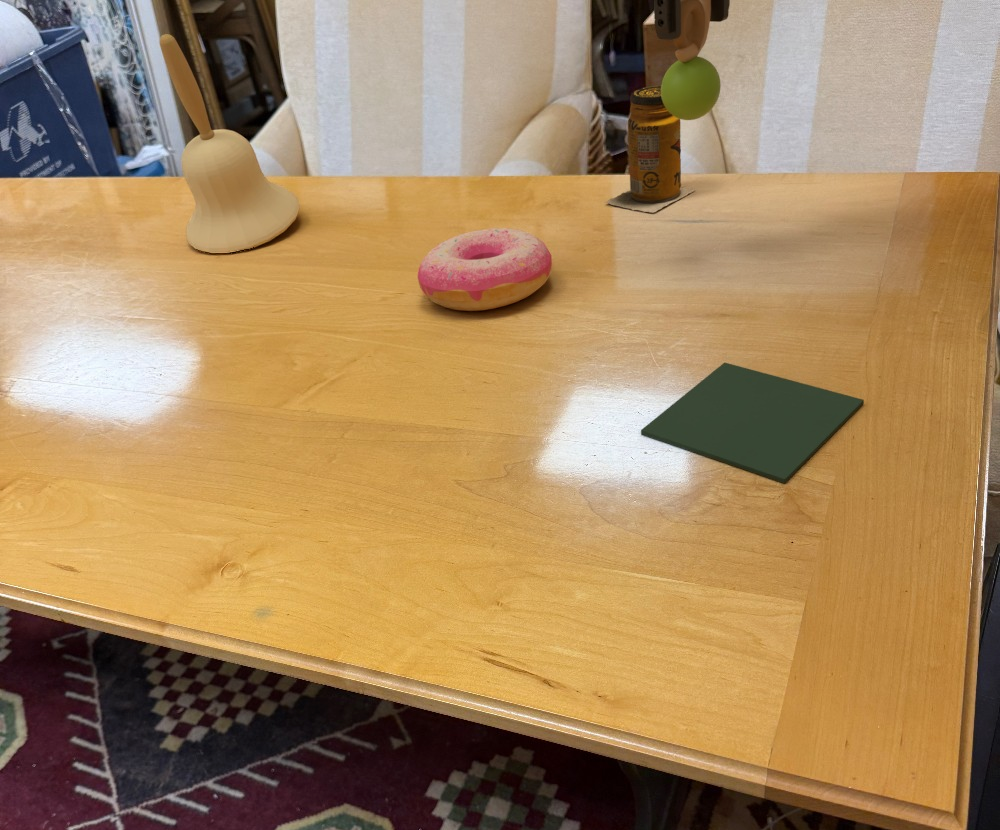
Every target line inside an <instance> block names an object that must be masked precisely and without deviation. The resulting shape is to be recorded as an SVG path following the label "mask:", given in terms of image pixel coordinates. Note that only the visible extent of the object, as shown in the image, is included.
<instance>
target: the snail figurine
mask: <svg viewBox="0 0 1000 830" xmlns="http://www.w3.org/2000/svg"><path fill="white" fill-rule="evenodd" d="M710 16H711V0H681V35H680V37H678V38H676V39H673V40H672V42H673V44H674V46H675V47H676V48H677V50H675V53H674V54H675V57H676V59H677V61H675V62H673V63H672V64H671V65H670V66H669V68H668V69H667V70H666V72H665V74H664V76H663V78H662V79H661V80H662V81H661V85H660V86H661V97H662V101H663V104H664V106H665V107H666V109H667V110H668V111H669V113H671V114H672V115H673V116H675V117H676V118H679V119H680V120H683V121H694V120H697V119H701V118H702V117H704V116H706V115H707V114H708V113H710V111H712V109H713V108H714V107H715V105H716V104H717V102H718V100H719V97H720V93H721V87H722V85H721V78H720V74H719V72H718V70H717V68H716V67H715V65H714V64H713V63H712V62H711V61H709V60H708V59H707V58H704V57H701V56H699V54H700V53H701V51H702V49H703V48H704V46H705V44H706V42H707V39H708V33H709V27H710V22H711V21H710Z"/></svg>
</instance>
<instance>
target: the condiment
mask: <svg viewBox="0 0 1000 830" xmlns="http://www.w3.org/2000/svg"><path fill="white" fill-rule="evenodd" d="M629 100H630V109H629V113H630V115H629V118H628V120H627V137H628V138H627V139H628V159H629V160H628V163H629V164H628V165H629V189H630V190H628V191H625V192H622V193H620V194H619V195H617V196H616V197H613V198H610V199H608V200H607V201H605V202H604V203H606V204H609V205H611V206H616V207H620V208H622V209H623V208H624V209H628V210H629V209H630V210H631V211H634V210H635V211H641V212H644V213H646V212H647V213H651V214H654V213H656V212H657V211H659V210H661V209H663V208H664V207H666V206H669V205H670V204H673V203H674V202H676V201H678V200H681V199H682V198H684V197H686V196H688V195H689V194H692V193H694V192H695V190H696V188H693V187H685V186H683V187H682V170H681V169H682V167H681V164H682V159H681V154H682V153H681V152H682V149H681V143H682V142H681V119H679V118H676V117H675V116H673V115H672V114H671V113H669V111H668V110H667V109H666V107H665V106H664V104H663V101H662V97H661V85H652V86H645V87H641V88H639V89H636V90H633V92H631V94H630V97H629Z"/></svg>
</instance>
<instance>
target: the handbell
mask: <svg viewBox="0 0 1000 830" xmlns="http://www.w3.org/2000/svg"><path fill="white" fill-rule="evenodd" d="M159 47H160V50H161V53H162V56H163V59H164V62H165V65H166V69H167V72H168V73H169V75H170V79H171V81H172V84H173V86H174V88H175V91H176V93H177V96H178V98H179V99H180V102H181V103H182V104H181V105H182V106H183V108H184V109H185V111H186V113H187V114H188V116H189V117H190V119H191V121H192V122H193V124H194V127H196V129H197V131H198V133H199V134H198V135H196V136H195V137H193V138H192V139H191V140H190V141H189V142H188V143H187V144H186V146H185V147H184V149H183V151H182V154H181V158H180V164H181V171H182V174H183V178H184V181H185V182H186V185H187V187H188V188H189V190H190V193H191V194H192V196H193V198H194V202H195V205H194V209H193V211H192V214H191V216H190V219H189V220H188V222H187V225H186V227H185V228H186V229H185V235H186V242H187V243H188V244H189V245H190V246H192V247H193V248H194V249H195V250H196V249H198V250H204V251H208V252H230V251H237V250H244V249H249V250H251V249H250V248H252V249H254V248H257V247H259V246H261V245H263V244H266V243H268V242H270V241H272V240H273V239H275V238H276V237H278V236H279V235H281V234H282V233H284V232H285V231H287V229H288V228H289V227H290V226H291V225H292V224H293V223H294V222H295V221H296V220H297V217H298V214H299V212H300V208H301V205H300V204H301V203H300V201H299V197H298V196H297V194H295V193H294V192H292V191H291V190H290V189H288V188H286V187H285V186H283V185H280V184H278V183H275V182H274V181H270V180H269V179H268V178H267V177H266V176H265V174H264V172H263V171H262V168H261V166H260V163H259V160H258V158H257V157H258V156H257V155H256V152H255V149H254V147H253V146H252V144H251V143H250V141H249V140H248V139H247V138H245V137H244V136H243V135H241V134H240V133H238V132H236V131H234V130H230V129H226V128H225V129H224V128H221V129H220V128H219V129H212V128H211V124H210V121H209V116H208V113H207V109H206V106H205V102H204V99H203V96H202V95H203V94H202V93H201V90H200V87H199V85H198V82H197V80H196V78H195V76H194V73H193V71H192V68H191V67H190V65H189V63H188V60H187V59H186V57H185V55H184V53H183V51H182V49H181V48H180V46H179V44H178V42H177V40H176V38H175V37H174V36H173V35H171V34H168V33H165V34H162V35H161V36H160V38H159ZM253 247H254V248H253ZM198 250H197V251H198ZM244 251H245V250H244Z"/></svg>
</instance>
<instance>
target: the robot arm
mask: <svg viewBox="0 0 1000 830" xmlns="http://www.w3.org/2000/svg"><path fill="white" fill-rule="evenodd" d="M730 5H731V1H730V0H711V16H710V22H711V23H712V22H713V23H714V22H716V23H720V22H724V21H726V20H727V19H728V18H729V13H730V12H729V10H730ZM653 14H654V15H653V18H654V20H653V21H654V30H655V34H656V36H657V38H658V39H660V40H668V41H669V40H670V41H673V39H676V38H678V37H680V35H681V0H653Z"/></svg>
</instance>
